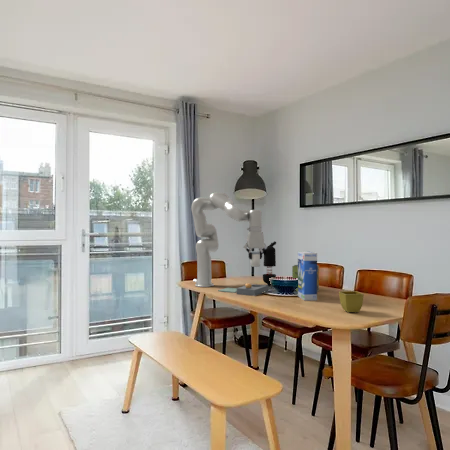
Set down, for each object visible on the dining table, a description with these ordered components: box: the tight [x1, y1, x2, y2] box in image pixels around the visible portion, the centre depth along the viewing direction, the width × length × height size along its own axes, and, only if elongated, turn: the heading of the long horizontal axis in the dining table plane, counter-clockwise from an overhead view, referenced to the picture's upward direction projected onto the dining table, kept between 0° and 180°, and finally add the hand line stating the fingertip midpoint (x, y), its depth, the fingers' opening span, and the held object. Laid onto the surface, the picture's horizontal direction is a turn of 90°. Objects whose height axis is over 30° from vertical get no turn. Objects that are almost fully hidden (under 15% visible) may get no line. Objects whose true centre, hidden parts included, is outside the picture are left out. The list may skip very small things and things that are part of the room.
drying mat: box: [217, 287, 238, 294], centre depth 241 cm, size 12×12×1 cm
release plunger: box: [245, 282, 253, 289], centre depth 228 cm, size 4×4×6 cm
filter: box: [262, 241, 277, 287], centre depth 258 cm, size 14×9×30 cm
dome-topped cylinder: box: [250, 250, 261, 268], centre depth 237 cm, size 6×6×9 cm
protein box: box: [291, 264, 320, 293], centre depth 240 cm, size 10×15×16 cm
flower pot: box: [338, 290, 365, 313], centre depth 180 cm, size 9×9×9 cm
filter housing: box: [236, 283, 270, 297], centre depth 233 cm, size 12×19×4 cm, turn 148°
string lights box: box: [297, 250, 318, 302], centre depth 214 cm, size 13×8×26 cm, turn 5°
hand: (255, 258), depth 237 cm, fingers closed on dome-topped cylinder, 5 cm apart
